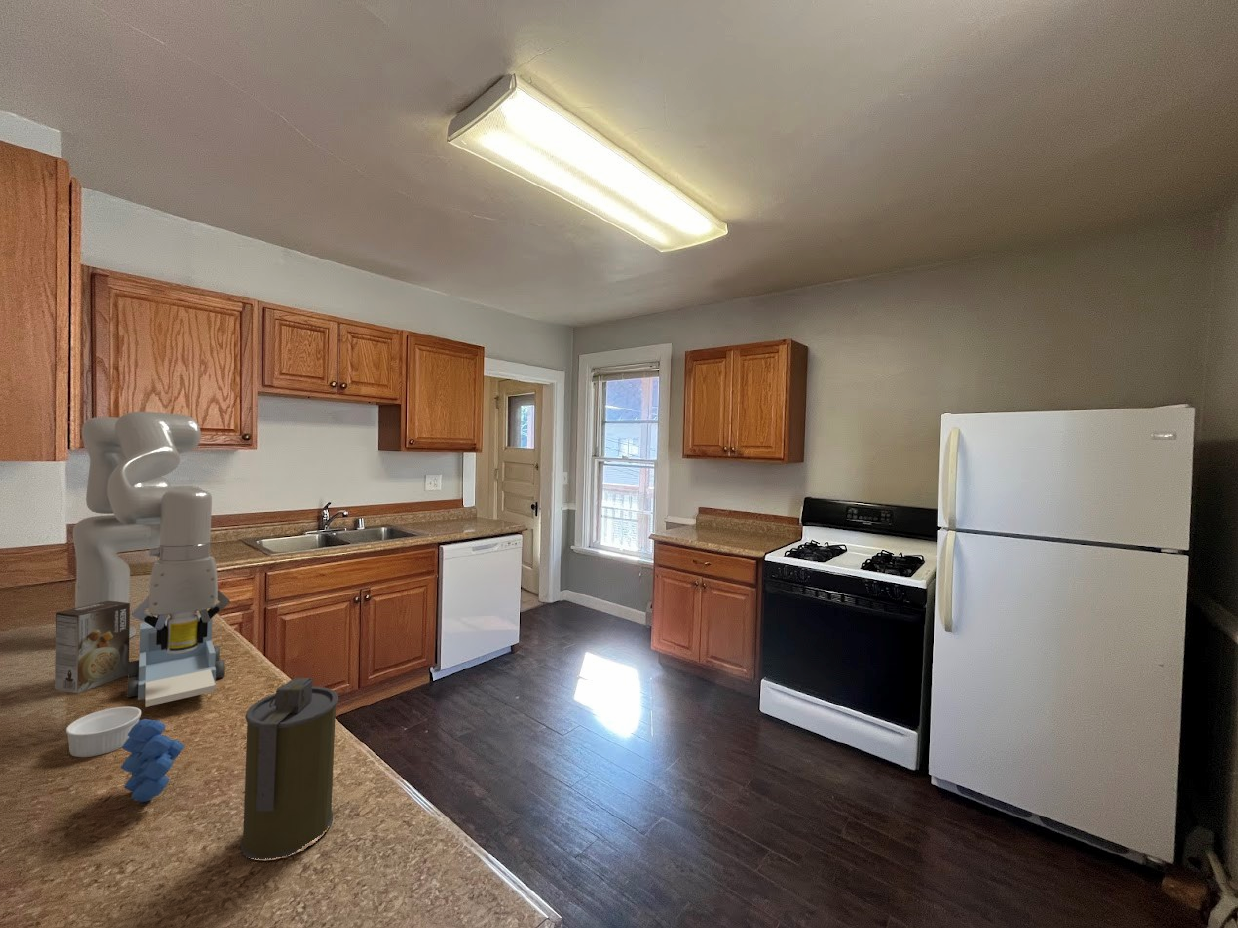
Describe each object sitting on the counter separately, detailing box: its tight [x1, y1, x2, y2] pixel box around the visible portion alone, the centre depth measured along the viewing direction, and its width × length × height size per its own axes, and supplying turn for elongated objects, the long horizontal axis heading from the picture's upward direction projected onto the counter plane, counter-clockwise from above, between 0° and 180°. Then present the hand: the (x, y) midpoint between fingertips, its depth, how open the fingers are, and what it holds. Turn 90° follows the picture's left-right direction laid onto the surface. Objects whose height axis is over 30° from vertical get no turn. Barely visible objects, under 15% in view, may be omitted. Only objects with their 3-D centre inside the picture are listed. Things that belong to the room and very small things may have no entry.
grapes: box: [120, 718, 186, 803], centre depth 72 cm, size 12×7×12 cm, turn 59°
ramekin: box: [65, 706, 142, 758], centre depth 84 cm, size 9×9×4 cm
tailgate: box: [144, 669, 217, 708], centre depth 98 cm, size 1×10×11 cm
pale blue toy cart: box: [126, 614, 226, 701], centre depth 108 cm, size 16×15×11 cm
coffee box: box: [54, 601, 131, 694], centre depth 104 cm, size 9×6×16 cm
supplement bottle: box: [166, 611, 199, 654], centre depth 98 cm, size 5×5×8 cm
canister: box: [240, 677, 339, 859], centre depth 67 cm, size 11×10×20 cm
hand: (182, 643), depth 98 cm, fingers closed on supplement bottle, 4 cm apart
